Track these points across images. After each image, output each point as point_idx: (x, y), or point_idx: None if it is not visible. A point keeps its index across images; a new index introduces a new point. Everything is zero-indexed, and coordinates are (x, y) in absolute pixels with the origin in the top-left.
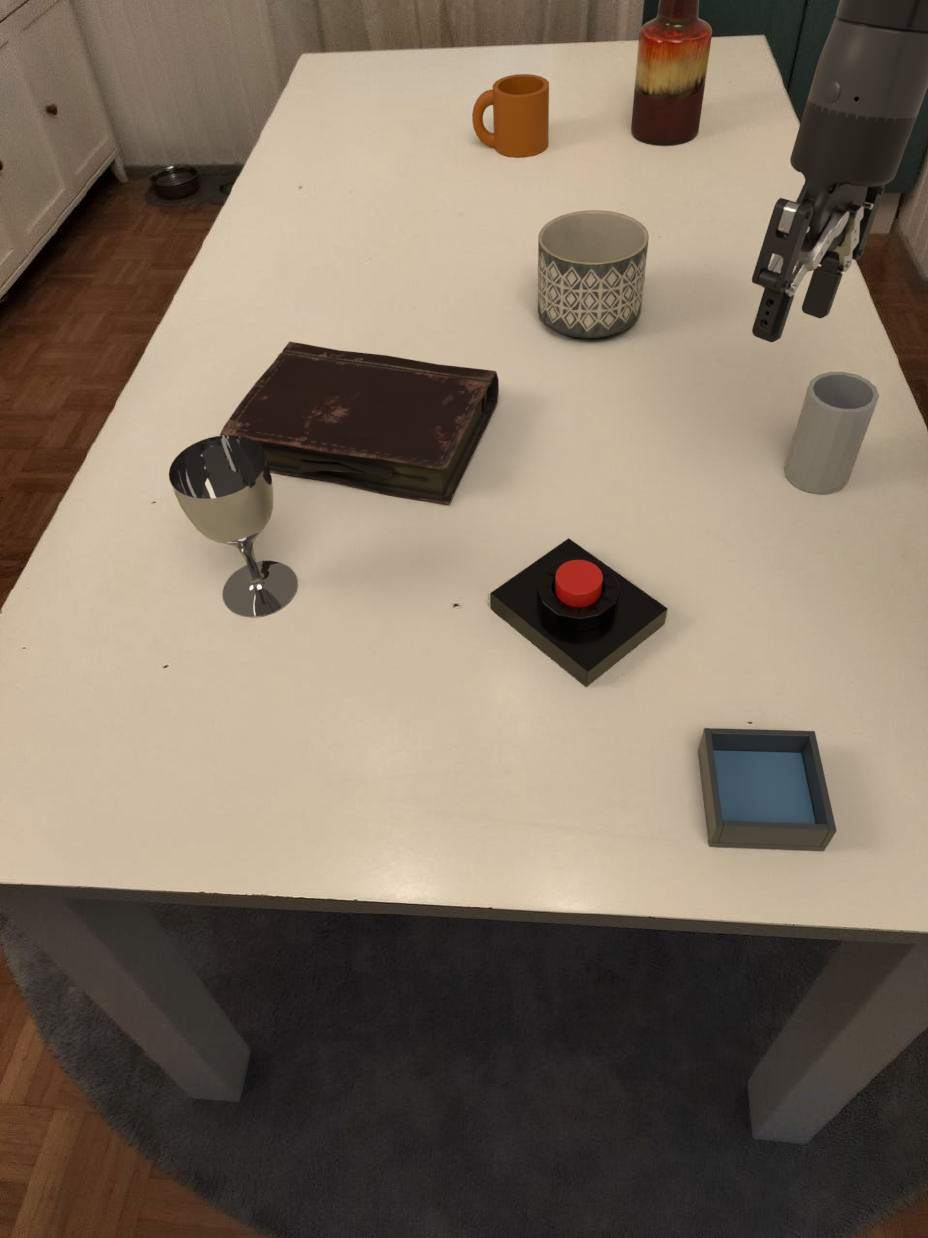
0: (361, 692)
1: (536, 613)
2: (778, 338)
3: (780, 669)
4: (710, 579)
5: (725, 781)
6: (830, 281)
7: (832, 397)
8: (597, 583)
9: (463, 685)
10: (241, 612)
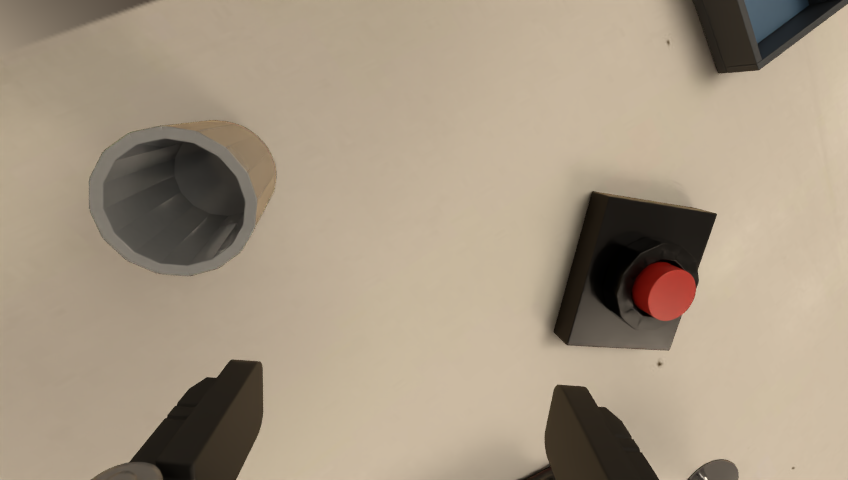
0: (766, 351)
1: None
2: (572, 386)
3: (589, 45)
4: (505, 186)
5: (758, 26)
6: (213, 459)
7: (143, 223)
8: (673, 273)
9: (732, 295)
10: (736, 476)
